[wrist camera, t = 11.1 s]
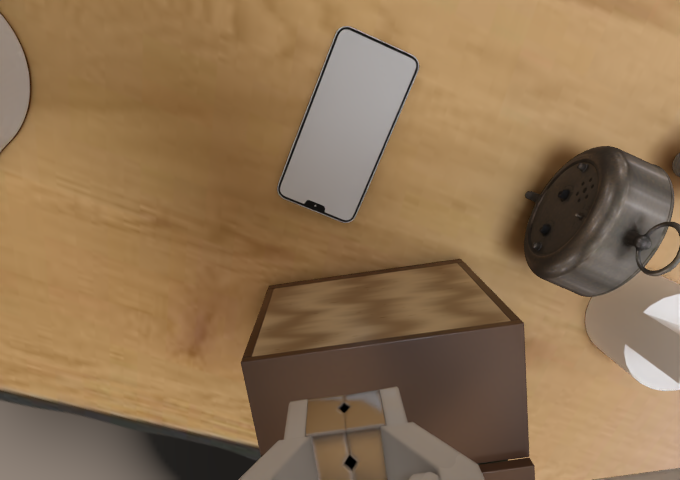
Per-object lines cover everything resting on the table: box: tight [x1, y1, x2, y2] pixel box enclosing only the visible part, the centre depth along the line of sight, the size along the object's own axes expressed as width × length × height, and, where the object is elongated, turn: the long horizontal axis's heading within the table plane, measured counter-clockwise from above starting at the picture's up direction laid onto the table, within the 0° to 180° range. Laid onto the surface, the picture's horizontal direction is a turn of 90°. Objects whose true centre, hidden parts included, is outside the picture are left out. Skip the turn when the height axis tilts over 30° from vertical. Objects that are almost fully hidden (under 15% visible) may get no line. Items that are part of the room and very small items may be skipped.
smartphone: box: [277, 26, 419, 223], centre depth 38 cm, size 7×1×15 cm
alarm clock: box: [524, 146, 680, 297], centre depth 33 cm, size 11×5×16 cm, turn 157°
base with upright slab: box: [585, 271, 680, 391], centre depth 38 cm, size 9×9×12 cm
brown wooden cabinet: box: [241, 259, 535, 480], centre depth 36 cm, size 18×12×15 cm, turn 98°
